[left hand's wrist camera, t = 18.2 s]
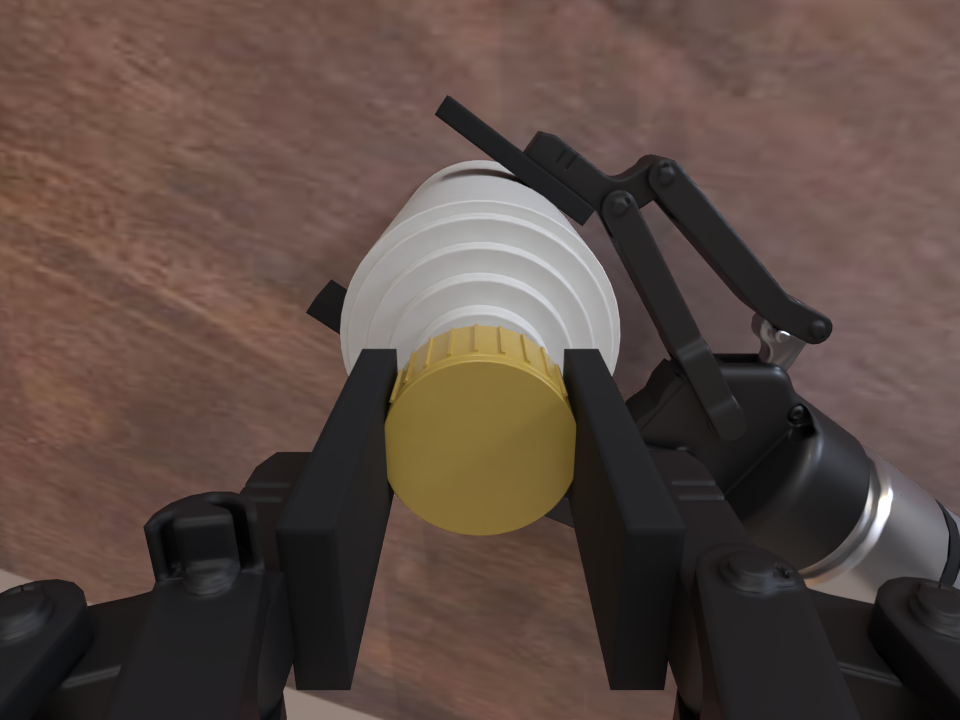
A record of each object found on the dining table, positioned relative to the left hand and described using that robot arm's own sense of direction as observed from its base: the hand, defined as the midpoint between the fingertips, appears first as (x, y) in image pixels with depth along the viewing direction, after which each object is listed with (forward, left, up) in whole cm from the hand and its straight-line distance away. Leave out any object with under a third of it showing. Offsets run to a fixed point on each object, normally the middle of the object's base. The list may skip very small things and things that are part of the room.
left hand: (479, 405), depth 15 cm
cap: (0, 0, +2) cm, 2 cm away
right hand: (-5, +1, -12) cm, 13 cm away
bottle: (0, 0, -18) cm, 18 cm away
